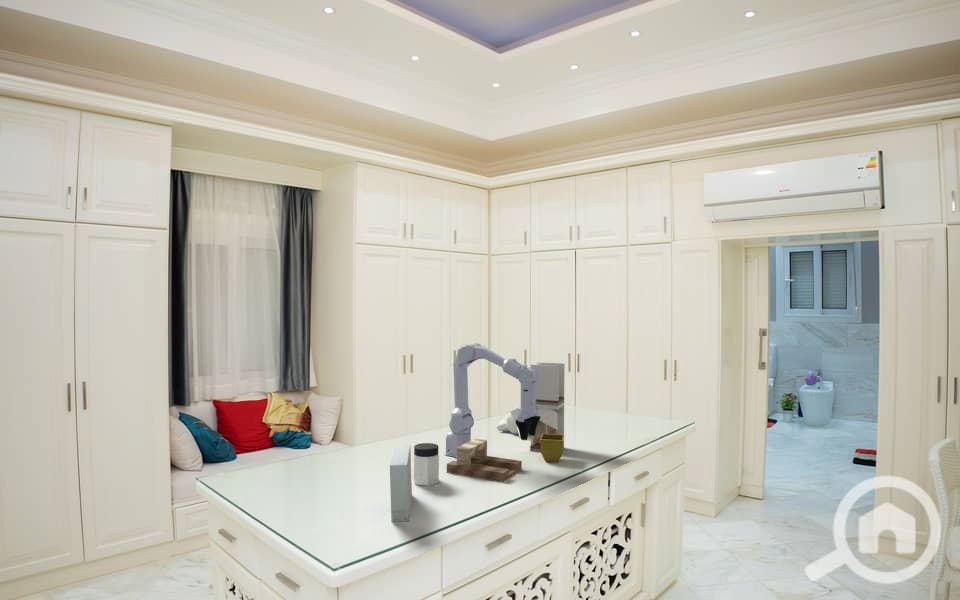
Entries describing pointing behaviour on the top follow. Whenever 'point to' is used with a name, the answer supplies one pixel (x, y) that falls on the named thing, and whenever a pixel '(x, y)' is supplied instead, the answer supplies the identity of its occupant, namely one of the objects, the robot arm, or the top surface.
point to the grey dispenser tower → (549, 401)
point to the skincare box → (400, 483)
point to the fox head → (510, 422)
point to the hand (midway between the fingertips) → (527, 437)
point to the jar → (426, 464)
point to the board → (487, 468)
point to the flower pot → (551, 447)
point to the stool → (471, 451)
